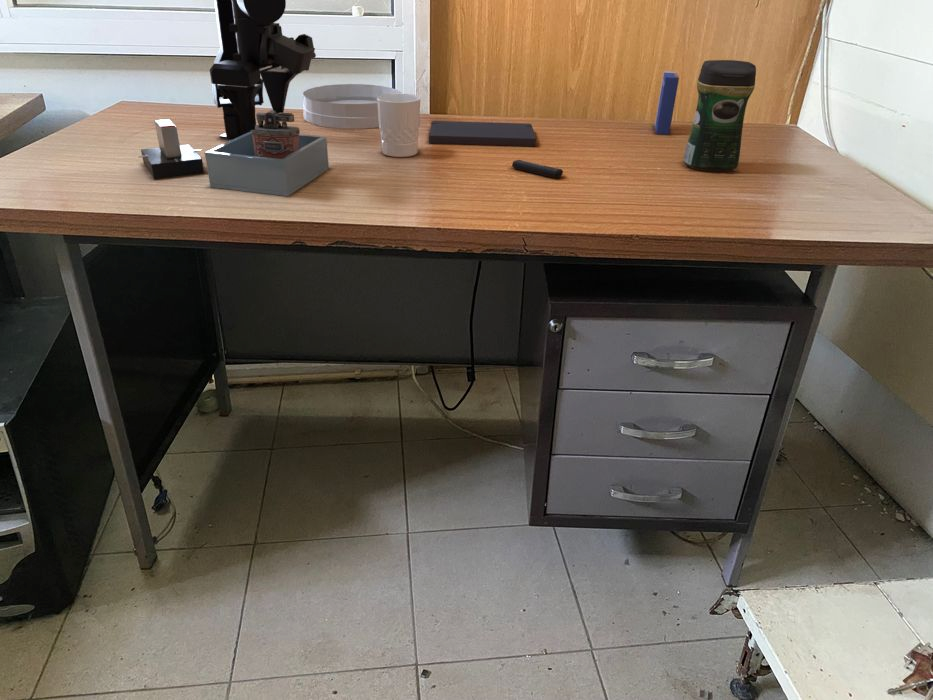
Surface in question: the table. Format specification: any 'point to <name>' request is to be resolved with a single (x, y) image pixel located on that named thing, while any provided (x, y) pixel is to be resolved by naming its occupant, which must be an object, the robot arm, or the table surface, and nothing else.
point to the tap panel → (172, 163)
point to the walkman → (666, 102)
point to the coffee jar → (719, 115)
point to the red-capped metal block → (168, 138)
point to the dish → (344, 105)
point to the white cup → (399, 123)
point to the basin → (266, 166)
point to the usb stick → (537, 168)
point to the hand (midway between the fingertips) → (265, 123)
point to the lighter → (275, 135)
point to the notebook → (482, 133)
